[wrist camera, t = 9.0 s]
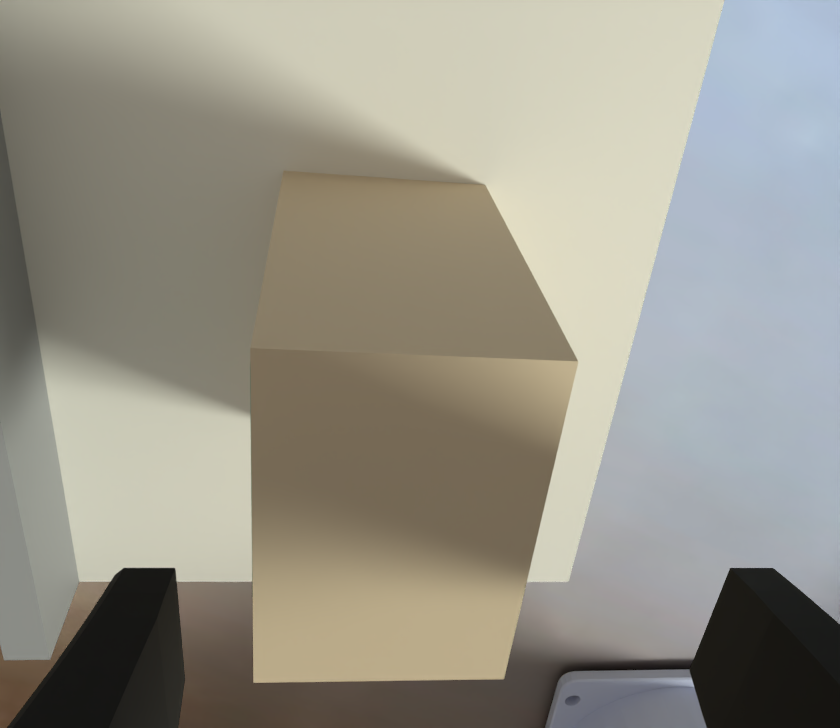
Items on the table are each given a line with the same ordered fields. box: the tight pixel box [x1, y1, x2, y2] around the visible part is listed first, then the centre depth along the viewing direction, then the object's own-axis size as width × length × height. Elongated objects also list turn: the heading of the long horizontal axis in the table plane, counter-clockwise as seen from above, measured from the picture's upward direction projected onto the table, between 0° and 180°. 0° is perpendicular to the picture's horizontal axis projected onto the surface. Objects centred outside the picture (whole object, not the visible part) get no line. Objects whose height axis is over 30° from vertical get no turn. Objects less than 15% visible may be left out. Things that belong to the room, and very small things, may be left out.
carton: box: [250, 171, 578, 683], centre depth 14 cm, size 4×6×7 cm
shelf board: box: [0, 0, 724, 660], centre depth 16 cm, size 16×14×4 cm
